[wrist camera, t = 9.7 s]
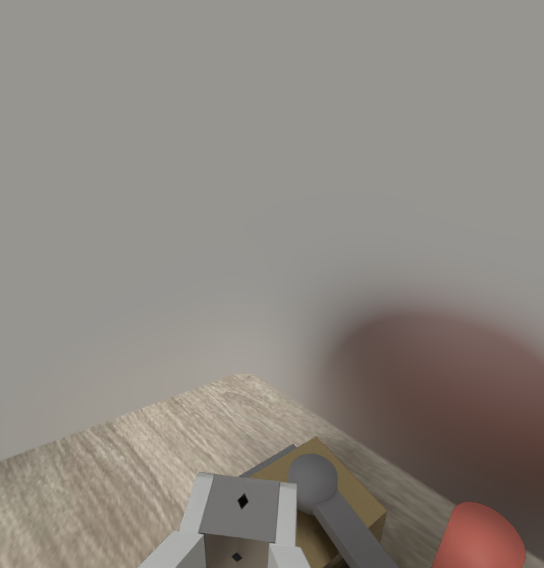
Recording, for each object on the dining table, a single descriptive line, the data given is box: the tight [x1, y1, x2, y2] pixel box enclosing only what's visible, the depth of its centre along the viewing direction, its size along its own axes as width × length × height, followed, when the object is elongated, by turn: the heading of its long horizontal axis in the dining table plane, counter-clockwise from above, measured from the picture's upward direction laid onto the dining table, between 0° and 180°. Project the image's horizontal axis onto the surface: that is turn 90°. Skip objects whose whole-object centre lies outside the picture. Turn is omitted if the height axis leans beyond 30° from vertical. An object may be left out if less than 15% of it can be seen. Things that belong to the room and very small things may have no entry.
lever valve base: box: [239, 437, 400, 568], centre depth 24 cm, size 11×7×8 cm, turn 34°
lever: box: [288, 454, 526, 568], centre depth 17 cm, size 12×3×9 cm, turn 31°
